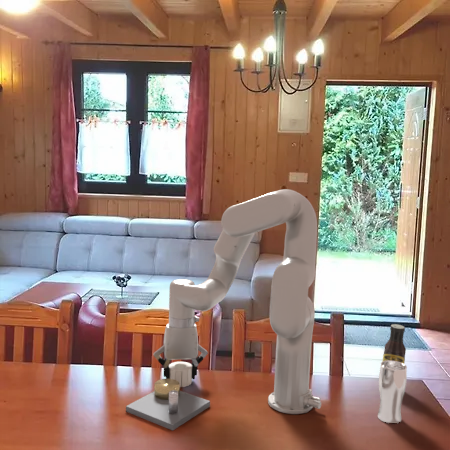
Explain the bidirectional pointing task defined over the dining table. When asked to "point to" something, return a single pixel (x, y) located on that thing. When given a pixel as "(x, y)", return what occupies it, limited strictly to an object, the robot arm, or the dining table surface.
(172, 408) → the pin
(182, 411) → the board
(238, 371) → the dining table surface
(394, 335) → the sauce bottle
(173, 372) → the ring
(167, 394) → the brass disc
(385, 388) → the beer glass
